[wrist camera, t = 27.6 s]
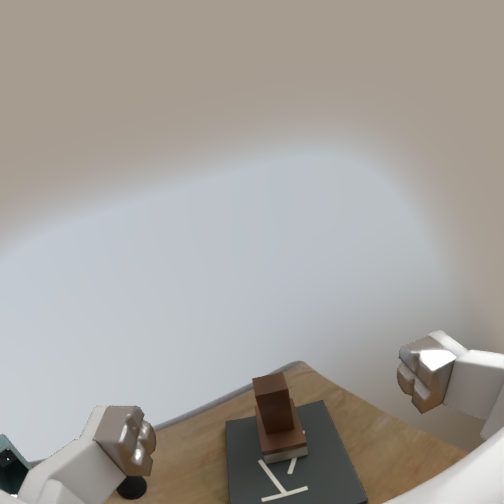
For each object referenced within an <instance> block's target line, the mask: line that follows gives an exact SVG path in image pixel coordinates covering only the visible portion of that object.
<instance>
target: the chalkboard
mask: <svg viewBox="0 0 504 504" xmlns="http://www.w3.org/2000/svg"><path fill="white" fill-rule="evenodd" d="M295 408H296V411H297V414H298V417H299V421H300V424H301V427H302V430H303V433H304V436H305V439H306V442H307V450H308V455H305V456H301V457H297V458H293V459H288V460H284V461H279V462H274V463H269V464H266V462H265V459H264V456H263V453H262V449H261V443H260V437H259V431H258V424H257V418H256V416H254V417H248V418H243V419H237V420H230V421H226V446H227V466H228V484H229V499H230V504H365V503H367V502H368V498H367V496H366V494H365V491H364V489H363V487H362V485H361V483H360V480H359V478H358V476H357V474H356V472H355V469H354V467H353V465H352V463H351V461H350V459H349V456H348V454H347V452H346V450H345V448H344V445H343V443H342V441H341V439H340V437H339V434H338V432H337V430H336V428H335V426H334V424H333V421H332V419H331V417H330V415H329V413H328V410H327V408H326V406H325V404H324V402H323V400H320V401H317V402H313V403H310V404H306V405H302V406H298V407H295Z"/></svg>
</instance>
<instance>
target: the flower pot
mask: <svg viewBox="0 0 504 504" xmlns="http://www.w3.org/2000/svg"><path fill="white" fill-rule="evenodd" d="M7 449H9V450H7ZM7 458H9V460H7ZM32 468H33V467H32V466H31V465H30V464H29V463H28V462H27V461H26V460H25V458H24V457H23V456H22V455H21V454H20V453H19V452H18V450H17V449H16V448H15V447H14V446H13V445H12V443H11V442H10V441H9V439H8V438H7V437H6V436H5V435H3V434H2V435H0V489H1V490H3V491H5V492H6V493H8V494H10V495H18V492H19V490H20V488H21V486H22V484H23V482H24V480H25V478H26V476H27V474H28V472H29V470H31V469H32Z"/></svg>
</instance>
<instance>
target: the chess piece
mask: <svg viewBox="0 0 504 504" xmlns="http://www.w3.org/2000/svg"><path fill="white" fill-rule="evenodd" d="M146 488H147V485H146V481H145V480H144V479H143V478H142V477H141V476H127V475H126V478H125V479H124V480H123V481H122V482H121V484H120V485H119V486H118V487H117V488H116V489H117V492H118V493H119V494H120V495H121V496H122V497H124V498H126V499H136V498H139V497H140V496H142V495H143V494H144V493H145V491H146Z"/></svg>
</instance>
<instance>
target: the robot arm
mask: <svg viewBox="0 0 504 504" xmlns="http://www.w3.org/2000/svg"><path fill="white" fill-rule="evenodd" d="M399 358H400V359H401V361H402V362H401V364H400V365H399V367H398V368H397V369H398V370H397V379H398V383H399V386H400V388H401V389H402V391H403V392H404V393H405V394H408V395H411V396H412V403H413V404H414V405H415V407H416V408H417V409H418V410H419V412H420V413H421V414H423V413H425V412H427V411H429V410H431V409H433V408H434V407H436V406H438V405H440V404H442V403H443V405H445V406H448V407H450V408H453V409H455V410H458V411H461V412H463V413H466V414H469V415H472V416H474V417H477V418H480V419H483V420H486V423H485V425H484V427H483V429H482V430H481V434H480V436H481V437H482V438H483V439H484V440H485V442H484V443H483V444H482V445H480V446H479V447H478V448H477V449H475V450H474V451H472V452H471V453H470V454H468V455H467V456H466V457H464V458H463V459H461V460H460V461H458V462H457V463H455V464H454V465H452V466H451V467H449V468H448V469H446V470H445V471H443V472H441V473H440V474H438V475H437V476H435V477H433V478H431V479H430V480H428V481H426V482H424V483H423V484H421V485H419V486H417V487H415V488H413V489H411V490H410V491H408V492H406V493H404V494H402V495H399V496H397V497H395V498H393V499H391V500H389V501H386V502H384V503H382V504H504V354H498V353H491V352H485V351H478V350H471V351H468V350H467V349H465V348H464V347H463V346H461V345H460V344H459V343H457V342H456V341H455V340H454V339H452V338H451V337H449V336H448V335H447V334H445V333H444V332H443V331H440V330H437V331H435V332H433V333H431V334H429V335H427V336H425V337H423V338H421V339H418V340H416V341H414V342H412V343H409V344H407V345H405V346H402V347H401V349H400V351H399ZM143 417H144V413H143V412H142V410H141V409H140V407H138V406H96V407H94V409H93V411H92V413H91V415H90V417H89V419H88V421H87V423H86V425H85V427H84V429H83V431H82V433H81V435H80V437H79V439H74V440H73V441H71V442H70V443H69V444H67V445H66V446H64V447H63V448H62V449H60V450H59V451H57V452H56V453H54V454H53V455H51V456H50V457H48V458H47V459H45V460H44V461H43V462H41V463H40V464H38V465H37V466H35V467H34V468H32V469H31V470H29V472H28V474H27V476H26V478H25V480H24V482H23V484H22V486H21V488H20V490H19V492H18V495H10V494H8V493H6V492H5V491H3V490H1V489H0V504H103V502H104V501H105V500H106V499H107V498H108V497H109V496H110V495H111V494H112V493H113V491H114V490H115V489H116V488H117V487H118V486H119V485H120V484H121V482H122V481H123V480H124V479H125V478H126V475H127V476H150V474H151V468H152V463H153V460H152V458H151V457H150V454H152V453H153V452H154V451H155V447H156V436H155V433H154V430H153V428H152V426H151V425H150V423H148V422H146V421H145V420H143Z"/></svg>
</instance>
